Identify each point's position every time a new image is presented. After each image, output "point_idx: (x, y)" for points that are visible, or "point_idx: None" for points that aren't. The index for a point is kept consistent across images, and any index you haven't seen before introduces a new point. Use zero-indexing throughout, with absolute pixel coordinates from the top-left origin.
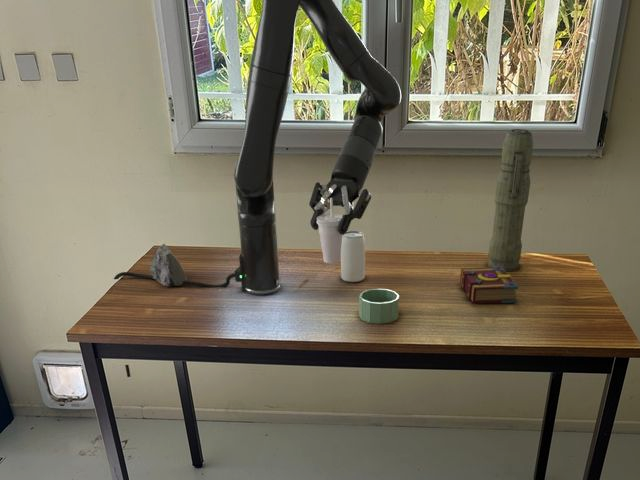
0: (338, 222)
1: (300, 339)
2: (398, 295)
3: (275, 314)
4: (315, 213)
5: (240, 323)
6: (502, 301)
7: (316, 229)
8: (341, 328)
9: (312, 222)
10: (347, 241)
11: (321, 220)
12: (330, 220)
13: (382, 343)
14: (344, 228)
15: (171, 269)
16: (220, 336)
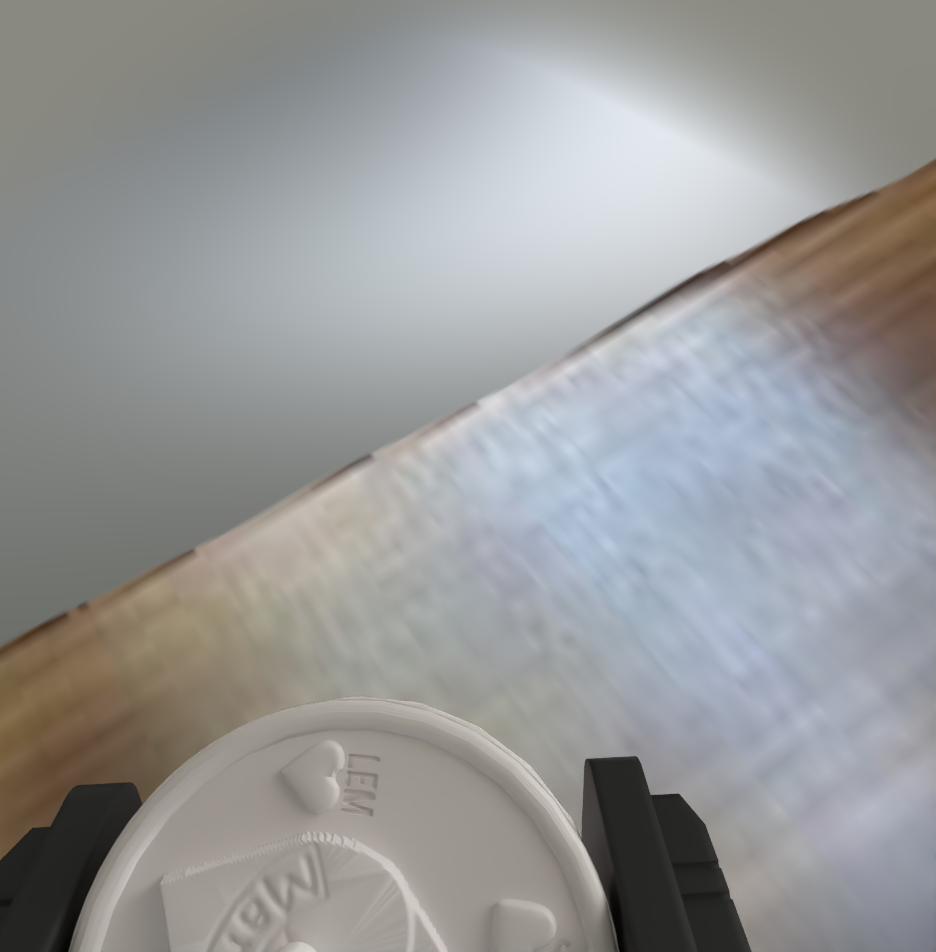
0: (105, 872)
1: (408, 457)
2: None
3: (730, 637)
4: (689, 947)
5: (786, 442)
6: None
7: (582, 835)
8: (300, 688)
9: (630, 784)
10: None
11: (389, 720)
12: (262, 842)
13: (11, 647)
14: (17, 853)
15: None
16: (742, 287)
